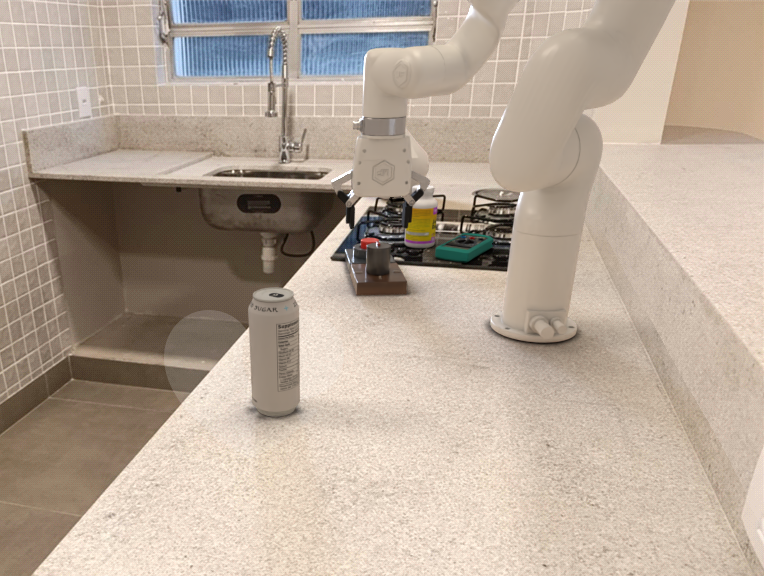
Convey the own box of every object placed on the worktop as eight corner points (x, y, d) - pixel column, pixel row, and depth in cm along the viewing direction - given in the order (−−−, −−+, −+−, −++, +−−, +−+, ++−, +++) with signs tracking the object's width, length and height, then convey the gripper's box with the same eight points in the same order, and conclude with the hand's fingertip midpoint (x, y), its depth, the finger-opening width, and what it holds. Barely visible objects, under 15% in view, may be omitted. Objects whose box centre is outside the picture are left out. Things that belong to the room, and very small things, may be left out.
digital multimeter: (494, 248, 152) (495, 234, 150) (467, 264, 141) (468, 250, 140) (461, 244, 156) (463, 231, 154) (433, 259, 145) (434, 245, 144)
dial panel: (406, 294, 125) (407, 280, 124) (356, 295, 126) (356, 281, 125) (396, 275, 136) (397, 261, 135) (350, 276, 137) (350, 263, 136)
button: (379, 250, 140) (380, 241, 139) (361, 251, 140) (361, 242, 139) (377, 245, 143) (377, 237, 142) (359, 246, 143) (360, 238, 142)
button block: (395, 272, 138) (396, 253, 136) (349, 274, 138) (349, 254, 136) (387, 257, 148) (388, 239, 146) (344, 259, 148) (345, 240, 146)
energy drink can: (272, 392, 92) (268, 282, 85) (309, 404, 88) (309, 291, 82) (242, 410, 87) (236, 296, 81) (280, 423, 84) (277, 305, 77)
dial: (391, 275, 128) (392, 246, 126) (367, 275, 128) (368, 247, 126) (387, 268, 132) (389, 240, 130) (364, 268, 132) (365, 241, 130)
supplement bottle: (434, 249, 152) (439, 189, 147) (404, 249, 153) (407, 189, 148) (434, 241, 158) (438, 184, 152) (404, 241, 159) (407, 184, 154)
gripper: (334, 131, 116) (331, 233, 124) (438, 129, 115) (429, 231, 123) (331, 126, 123) (329, 223, 130) (430, 124, 122) (422, 221, 130)
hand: (378, 227), depth 127 cm, fingers open, 9 cm apart
